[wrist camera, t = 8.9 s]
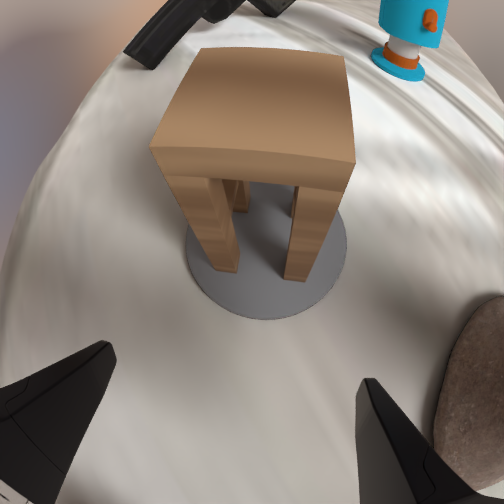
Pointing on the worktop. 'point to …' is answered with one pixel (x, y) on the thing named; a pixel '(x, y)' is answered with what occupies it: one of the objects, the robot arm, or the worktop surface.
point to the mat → (267, 260)
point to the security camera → (409, 35)
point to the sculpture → (474, 400)
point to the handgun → (187, 24)
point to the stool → (258, 145)
